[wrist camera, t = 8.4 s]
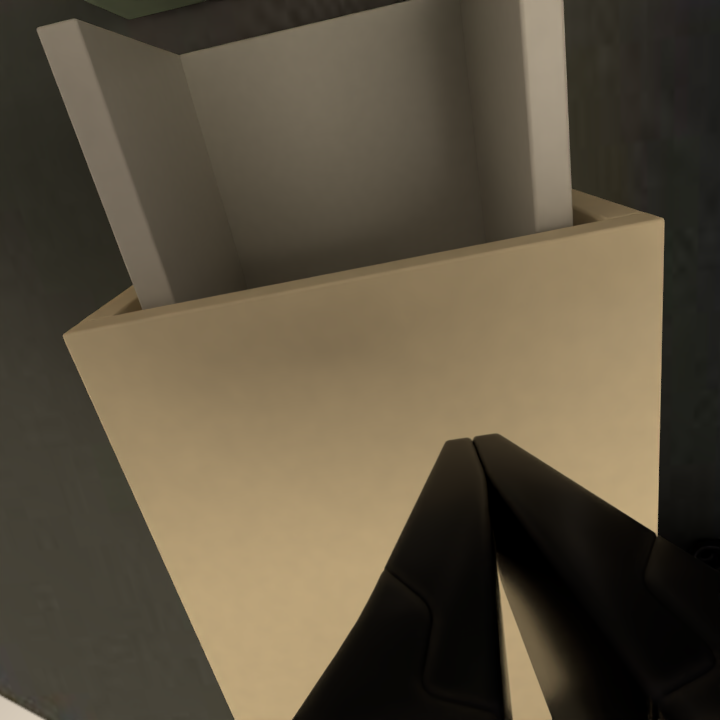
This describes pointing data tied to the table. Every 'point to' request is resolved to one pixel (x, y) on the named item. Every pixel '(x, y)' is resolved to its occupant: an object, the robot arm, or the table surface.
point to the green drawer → (320, 140)
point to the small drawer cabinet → (371, 424)
